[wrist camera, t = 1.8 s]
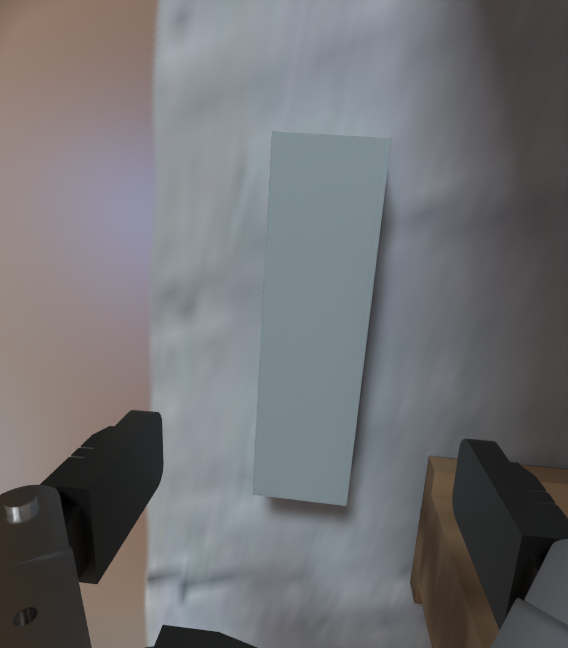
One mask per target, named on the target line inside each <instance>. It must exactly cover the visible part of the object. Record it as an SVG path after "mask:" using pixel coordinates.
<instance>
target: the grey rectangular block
mask: <svg viewBox="0 0 568 648" xmlns="http://www.w3.org/2000/svg"><path fill="white" fill-rule="evenodd" d="M390 146H391V138H376V137H358V136H341V135H323V134H305V133H287V132H272V143H271V161H270V180H269V199H268V217H267V236H266V254H265V273H264V292H263V310H262V329H261V347H260V366H259V385H258V403H257V422H256V440H255V459H254V478H253V495H260V496H268V497H276V498H284V499H293V500H301V501H309V502H317V503H326V504H334V505H342V506H347V498H348V490H349V482H350V473H351V465H352V457H353V449H354V441H355V432H356V424H357V416H358V408H359V400H360V391H361V383H362V375H363V367H364V359H365V350H366V342H367V334H368V326H369V318H370V309H371V301H372V293H373V285H374V277H375V269H376V260H377V252H378V244H379V236H380V228H381V219H382V211H383V203H384V195H385V187H386V178H387V170H388V162H389V154H390Z"/></svg>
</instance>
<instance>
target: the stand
mask: <svg viewBox="0 0 568 648" xmlns="http://www.w3.org/2000/svg"><path fill="white" fill-rule="evenodd" d="M457 461H458V459H452V458H441V457H431V456H429V460H428V466H427V473H426V480H425V487H424V493H423V500H422V507H421V513H420V520H419V527H418V534H417V540H416V547H415V554H414V560H413V567H412V574H411V581H410V583H411V588H412V593H413V598H414V603H420V604H422V605H423V609H424V613H425V618H426V622H427V627H428V631H429V636H430V640H431V645H432V648H491V646H492V644H493V642H494V640H495V638H496V636H497V634H498V632H499V628H498V626H497V623H496V621H495V618H494V615H493V613H492V610H491V608H490V605H489V603H488V600H487V598H486V595H485V593H484V590H483V588H482V585H481V583H480V580H479V578H478V575H477V572H476V570H475V567H474V565H473V562H472V560H471V557H470V555H469V552H468V550H467V547H466V545H465V542H464V540H463V537H462V535H461V532H460V530H459V527H458V524H457V522H456V519H455V516H454V512H453V504H452V494H453V486H454V480H455V473H456V467H457ZM521 466H523V467H524V468H525V469H527V470H528V471H530V472H531V473H532V474H534V475H535V476H536V477H537V478H538V480H539V481H540V482H541V484H542V485H543V486H544V488H545V489H546V493H549V494H550V496H551V497H552V498H553V500H554V501H555V505H558V506H559V508H560V509H561V510H562V511H563V513H564V514H565V515H566V517H567V518H568V469H559V468H548V467H537V466H527V465H521Z"/></svg>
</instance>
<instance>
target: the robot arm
mask: <svg viewBox="0 0 568 648" xmlns="http://www.w3.org/2000/svg"><path fill="white" fill-rule="evenodd" d="M162 473H163V436H162V418H161V415H160V413H159V412H150V411H137V410H131V411H130V412H128V413H127V415H125V416H124V417H123V418H122V420H121V421H119V423H118V424H116V426H109V427H107V428H105V429H103V430H101V431H99V432H97V433H95V434H93V435H92V436H91V437H90V438H89V439H87V440H86V441H85V442H84V443H83V444H82V445H81V448H78V449H77V450H76V451H75V452H74V453H73V454H72V455H71V457H69V458H67V459H66V461H64V462H63V463H62V464H61V465H60V466H59V467H58V468H57V469H56V470H55V471H54V472H53V473H52V474H51V475H49V477H47V478H46V479H45V480H44V481H43V482H42V483H41V484H40V485H28V486H23V487H19V488H15V489H12V490H10V491H7V492H5V493H3V494H1V495H0V648H92V646H91V641H90V636H89V631H88V626H87V621H86V616H85V611H84V606H83V601H82V596H81V590H80V585H79V582H83V583H91V584H98V582H99V581H100V579H101V578H102V576H103V574H104V573H105V571H106V570H107V568H108V566H109V565H110V563H111V562H112V560H113V558H114V557H115V555H116V554H117V552H118V550H119V549H120V547H121V545H122V544H123V542H124V541H125V539H126V538H127V536H128V534H129V533H130V531H131V529H132V528H133V526H134V525H135V523H136V521H137V520H138V518H139V516H140V515H141V513H142V512H143V510H144V509H145V507H146V505H147V504H148V502H149V501H150V499H151V497H152V496H153V494H154V493H155V491H156V489H157V488H158V486H159V484H160V481H161V477H162ZM452 504H453V512H454V516H455V519H456V522H457V524H458V527H459V530H460V532H461V535H462V537H463V540H464V542H465V545H466V547H467V550H468V552H469V555H470V557H471V560H472V562H473V565H474V567H475V570H476V572H477V575H478V578H479V580H480V583H481V585H482V588H483V590H484V593H485V595H486V598H487V600H488V603H489V605H490V608H491V610H492V613H493V615H494V618H495V621H496V623H497V626H498V628H499V632H498V634H497V636H496V638H495V640H494V642H493V644H492V646H491V648H568V518H567V517H566V515H565V514H564V513H563V511H562V510H561V509H560V508H559V506H558V505H555V501H554V500H553V498H552V497H551V496H550V494H549V493H546V489H545V488H544V486H543V485H542V484H541V482H540V481H539V480H538V478H537V477H536V476H535V475H534V474H532V473H531V472H530V471H528V470H527V469H525V468H524V467H523V466H521V465H520V464H518V463H514V462H509V460H508V459H507V457H506V456H505V455H504V453H503V452H502V450H501V449H500V447H499V446H498V445H497V443H496V442H494V441H485V440H474V439H463V440H462V441H461V444H460V448H459V454H458V461H457V467H456V473H455V480H454V486H453V494H452ZM146 648H257V647H254V646H252V645H249V644H247V643H245V642H242V641H240V640H237V639H235V638H232V637H230V636H227V635H225V634H222V633H220V632H214V631H206V630H199V629H191V628H183V627H175V626H168V625H163V626H162V628H161V631H160V633H159V635H158V638H157V640H156V643H155V645H154V646H153V647H146Z"/></svg>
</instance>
